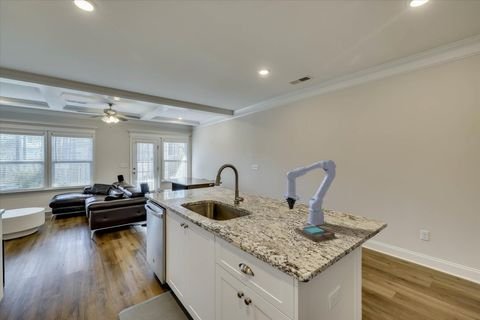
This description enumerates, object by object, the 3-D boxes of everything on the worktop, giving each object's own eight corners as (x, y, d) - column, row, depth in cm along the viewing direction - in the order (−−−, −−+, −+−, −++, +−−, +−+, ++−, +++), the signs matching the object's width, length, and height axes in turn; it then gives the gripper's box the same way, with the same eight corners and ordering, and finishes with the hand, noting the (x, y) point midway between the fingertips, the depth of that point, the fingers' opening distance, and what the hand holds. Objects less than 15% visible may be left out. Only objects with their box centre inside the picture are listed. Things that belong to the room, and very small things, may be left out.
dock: (314, 228, 128) (314, 224, 128) (334, 237, 114) (334, 232, 114) (295, 231, 122) (295, 227, 122) (313, 241, 108) (313, 236, 108)
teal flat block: (314, 231, 124) (314, 224, 124) (324, 235, 117) (325, 228, 117) (302, 233, 120) (302, 226, 120) (311, 238, 113) (311, 231, 113)
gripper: (280, 187, 144) (279, 207, 144) (293, 190, 131) (293, 212, 131) (288, 187, 147) (288, 206, 147) (302, 190, 134) (301, 211, 134)
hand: (291, 209), depth 139 cm, fingers closed
